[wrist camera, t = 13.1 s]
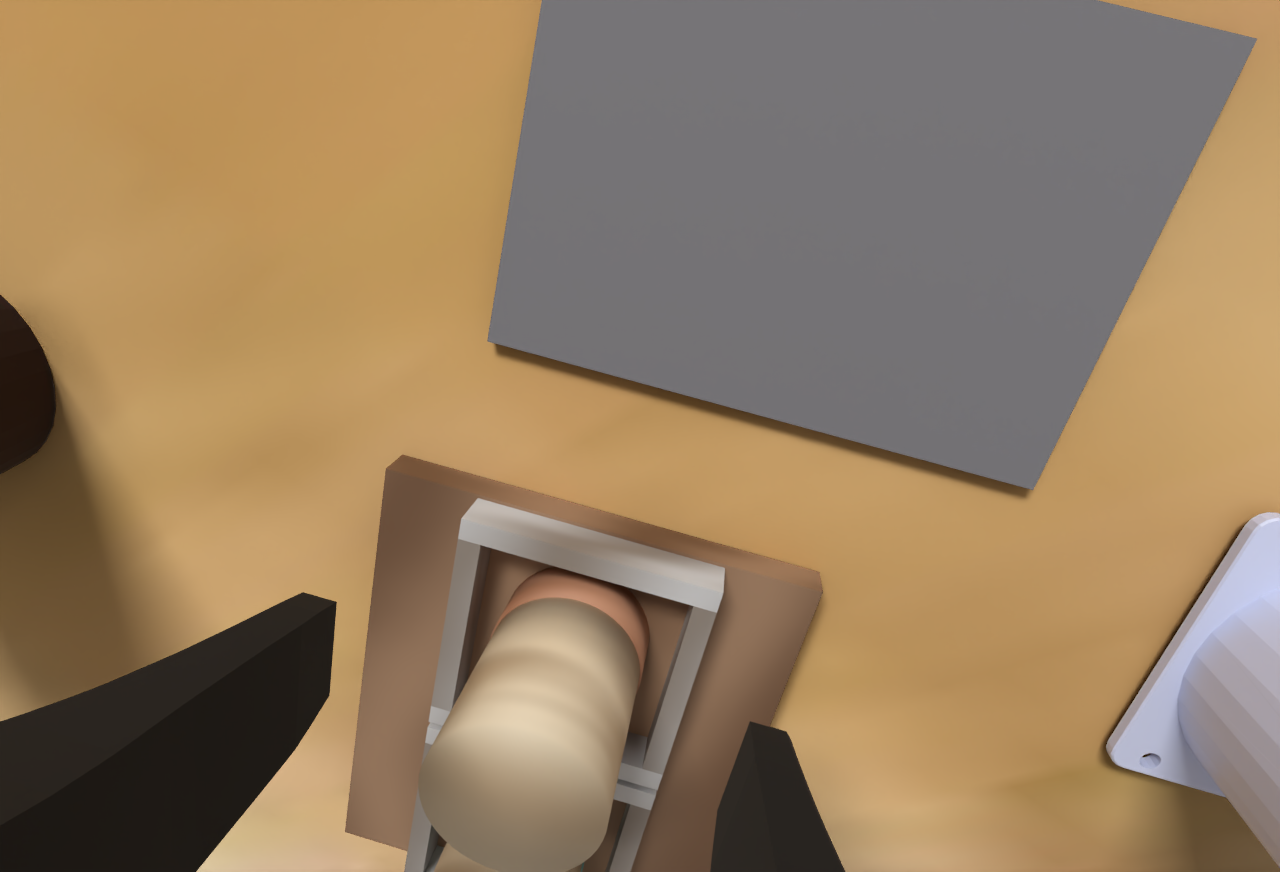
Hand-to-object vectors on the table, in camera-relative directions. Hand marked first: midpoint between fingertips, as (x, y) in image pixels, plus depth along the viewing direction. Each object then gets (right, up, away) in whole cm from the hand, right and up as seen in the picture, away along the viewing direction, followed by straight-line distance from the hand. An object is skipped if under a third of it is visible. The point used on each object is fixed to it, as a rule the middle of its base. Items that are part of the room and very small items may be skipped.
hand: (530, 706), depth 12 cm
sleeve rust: (0, -1, +8) cm, 8 cm away
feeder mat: (+6, +10, +4) cm, 12 cm away
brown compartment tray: (-1, -4, +11) cm, 11 cm away
